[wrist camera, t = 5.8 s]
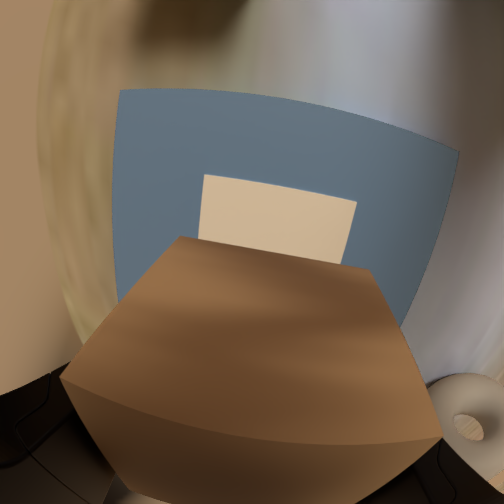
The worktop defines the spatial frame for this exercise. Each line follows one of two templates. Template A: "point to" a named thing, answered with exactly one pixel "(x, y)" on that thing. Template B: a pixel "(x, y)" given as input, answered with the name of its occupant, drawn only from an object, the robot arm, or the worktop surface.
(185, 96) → the board
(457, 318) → the worktop surface
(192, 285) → the walnut cube
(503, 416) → the donut
